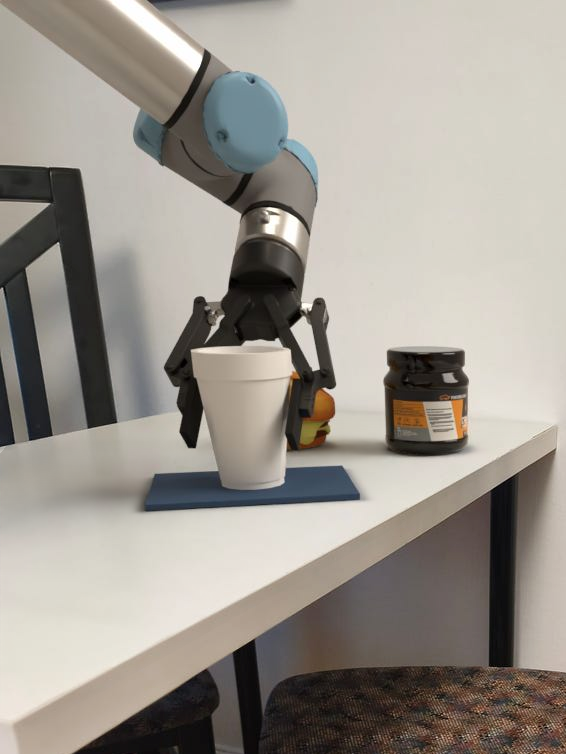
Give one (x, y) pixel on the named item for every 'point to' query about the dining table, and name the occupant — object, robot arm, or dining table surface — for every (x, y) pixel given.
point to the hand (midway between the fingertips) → (239, 441)
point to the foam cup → (246, 411)
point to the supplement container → (426, 400)
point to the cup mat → (210, 492)
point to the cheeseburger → (316, 419)
